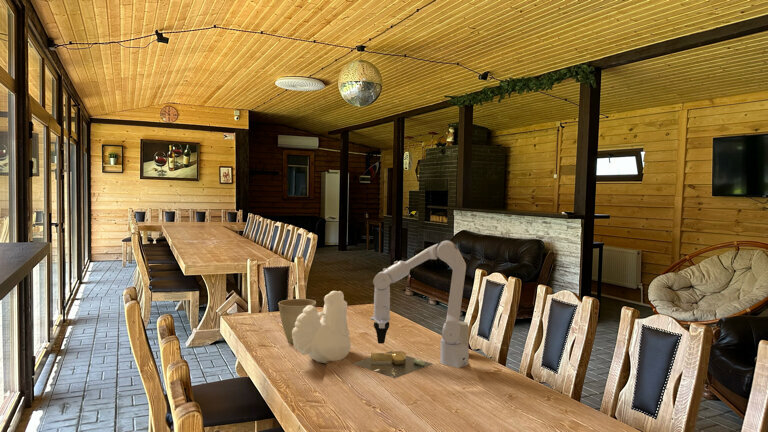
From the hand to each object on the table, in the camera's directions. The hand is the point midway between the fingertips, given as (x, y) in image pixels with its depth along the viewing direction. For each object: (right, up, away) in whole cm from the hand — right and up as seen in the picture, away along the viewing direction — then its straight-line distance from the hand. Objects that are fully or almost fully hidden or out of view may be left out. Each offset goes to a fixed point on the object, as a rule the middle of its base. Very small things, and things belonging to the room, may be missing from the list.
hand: (381, 343), depth 185 cm
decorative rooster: (-22, -7, -1) cm, 23 cm away
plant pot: (-34, -5, +23) cm, 42 cm away
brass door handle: (+3, -5, -6) cm, 8 cm away
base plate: (+4, -7, -6) cm, 10 cm away
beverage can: (+30, -7, +11) cm, 32 cm away
